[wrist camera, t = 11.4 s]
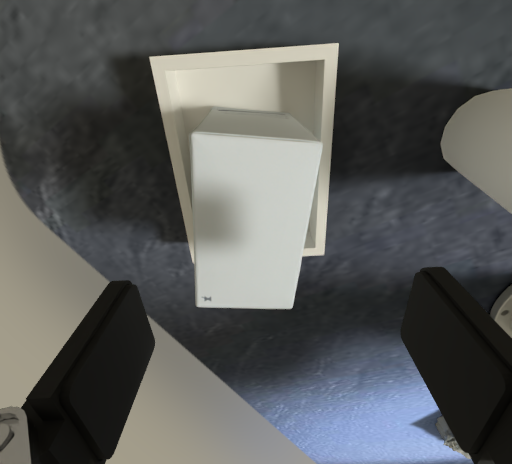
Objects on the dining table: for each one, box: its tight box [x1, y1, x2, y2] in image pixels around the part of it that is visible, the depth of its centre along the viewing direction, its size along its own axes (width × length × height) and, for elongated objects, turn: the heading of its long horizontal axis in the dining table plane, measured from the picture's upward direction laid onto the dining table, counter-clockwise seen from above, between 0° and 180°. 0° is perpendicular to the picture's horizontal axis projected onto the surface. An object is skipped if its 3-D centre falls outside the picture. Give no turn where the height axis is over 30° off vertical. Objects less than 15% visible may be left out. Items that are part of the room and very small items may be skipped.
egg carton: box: [435, 416, 471, 459], centre depth 45 cm, size 11×8×4 cm
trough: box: [149, 43, 339, 263], centre depth 23 cm, size 12×16×4 cm
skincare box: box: [189, 106, 323, 309], centre depth 20 cm, size 10×6×10 cm, turn 176°
